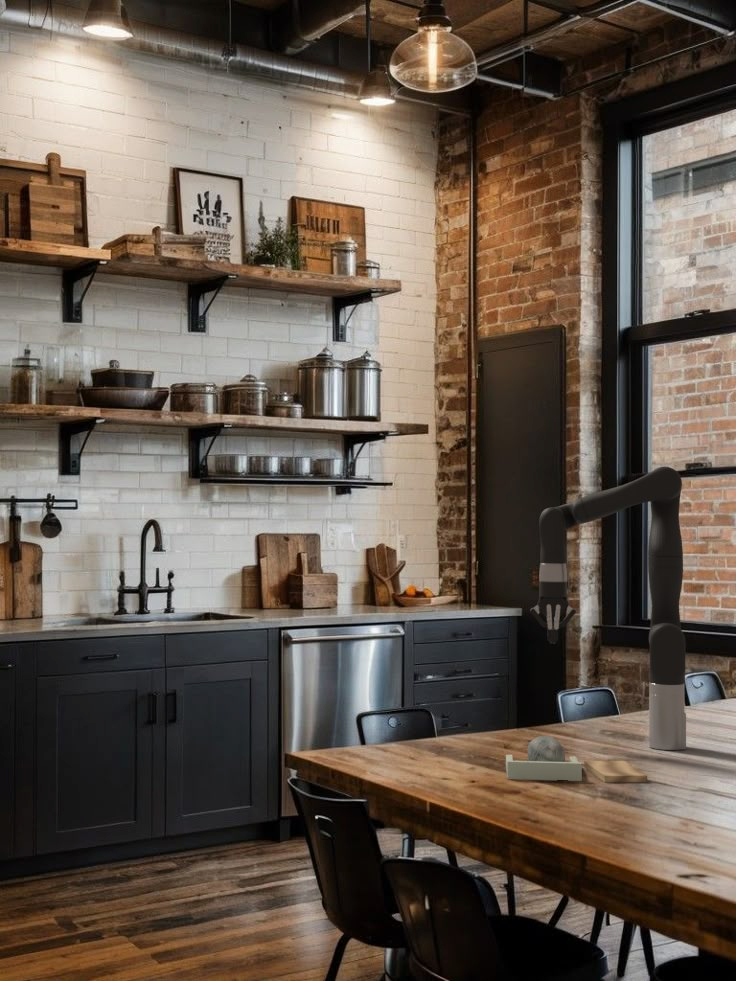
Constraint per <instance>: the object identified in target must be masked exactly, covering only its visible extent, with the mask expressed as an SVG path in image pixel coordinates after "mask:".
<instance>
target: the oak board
mask: <svg viewBox="0 0 736 981" xmlns="http://www.w3.org/2000/svg"><path fill="white" fill-rule="evenodd" d="M583 762H584V763H583V767H585V768H584V769H586V770H587V769H588V770H587V771H589V773H591V772H592V773H591V774H593V775H594V776H595V777H596V778H598V779H599V778H600V779H599V780H600V781H602V782H603V783H648V774H645V772H642V771H641V770H639V769H638V768H636V767H635V766H633V765H632V764H630V763H628V761H625V760H586V761H585V760H584V761H583Z"/></svg>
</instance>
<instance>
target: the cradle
mask: <svg viewBox="0 0 736 981" xmlns="http://www.w3.org/2000/svg"><path fill="white" fill-rule="evenodd" d="M582 769H583V764H582V762H579V761H578V758H577V756H569V761H565V762H544V761H529V760H514V759H513V754H505V770H506V777H507V778H506V779H507V780H521V781H522V780H526V781H527V780H528V781H532V780H533V781H557V780H568V781H567V782H582V779H583V778H582V776H583V775H582V774H583V770H582Z"/></svg>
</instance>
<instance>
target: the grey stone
mask: <svg viewBox="0 0 736 981" xmlns="http://www.w3.org/2000/svg"><path fill="white" fill-rule="evenodd" d="M526 752H527V753H526V754H527V758H528V761H544V762H566V754H565V750H564V748H563V746H562V745H561V743H560V742H559V741H558V740H557V739H556V738H554V737H553V736H548V735H541V736H538V737H535V738H534V739H532V740H530V742H529V743H528V745H527V751H526Z"/></svg>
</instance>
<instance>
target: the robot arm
mask: <svg viewBox="0 0 736 981" xmlns="http://www.w3.org/2000/svg"><path fill="white" fill-rule="evenodd" d="M682 488H683V480H682V477H681V475H680V473H679V472H678V471H677V470H676V469H674V468H672V467H669V466H660V467H657V468H655V469H653V470H652V471H651V472H648V473H646V474H645V475H643V476H641V477H639V478H637V479H635V480H633V481H630V482H628V483H625V484H622V485H618V486H616V487H612V488H609V489H605V490H601V491H598V492H595V493H592V494H589V495H585V496H582V497H580V498H579V497H578V498H577V499H575V500H573V501H572V502H569V503H564V504H562V505H559V506H555V507H548V508H545V509H543V511H542V512H541V514H540V516H539V522H538V524H539V525H538V526H539V537H540V538H539V539H540V556H539V557H540V559H539V560H540V563H539V572H538V573H539V574H538V575H539V576H538V579H539V580H538V581H539V582H538V583H539V586H538V588H539V593H538V594H539V598H538V601H537V605H535V606H534V607H531V608H530V610H529V611H530V613H531V614H532V616H534V618H535V619H536V621H537V622H538V623H539V625H540V626H541V627H542V628H545V629H546V630H547V641H548V642H549V644H556V643H557V642H558V640H559V630H560V629H561V628H565V627H566V626H567V624H568V623H569V622H570V621H571V619H572V618H573V617H574V615H576V613H577V611H576V610H577V609H574V608H573V607H572V606H570V605H569V604H570V603H569V600H568V569H567V549H566V548H567V547H566V544H565V531H567V530H568V529H571V528H573V527H576V526H578V525H582V524H587V523H589V522H592V521H593V522H594V521H596V520H600V519H603V518H606V517H608V516H610V515H611V516H612V515H614V514H615V513H617V512H621V511H623V510H625V509H628V508H630V507H632V506H637V505H640V504H643V503H648V502H649V504H650V513H651V514H650V515H651V523H650V529H649V536H648V548H647V549H648V550H647V570H648V571H647V572H648V583H649V591H650V599H651V600H650V601H651V611H650V612H651V614H650V615H651V616H650V626H649V627H650V628H649V633H648V643H649V669H648V670H649V672H648V674H649V675H648V678H649V679H648V680H649V682H648V683H649V684H648V698H649V700H648V701H649V702H648V715H649V716H648V745H649V748H652V749H656V750H662V751H663V750H664V751H680V750H687V713H686V712H685V710H686V709H685V706H686V705H685V678H686V676H685V675H686V647H687V646H686V637H685V634H684V632H683V631H682V625H681V614H680V600H681V593H682V588H683V587H682V586H683V578H684V548H683V540H682V532H681V527H680V526H681V525H680V505H681V504H680V503H681V495H682V494H681V492H682ZM540 611H541V612H542V614H543V615H544V616H545V617H546V622H545V621H544V620H543V618H542V617H541V616H540V615H539V614H540ZM565 611H566V616H565V617H564V618H563V619H562V620H561V621H560V617H561V616H563V614H564V613H565ZM552 617H553V618H552Z"/></svg>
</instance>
